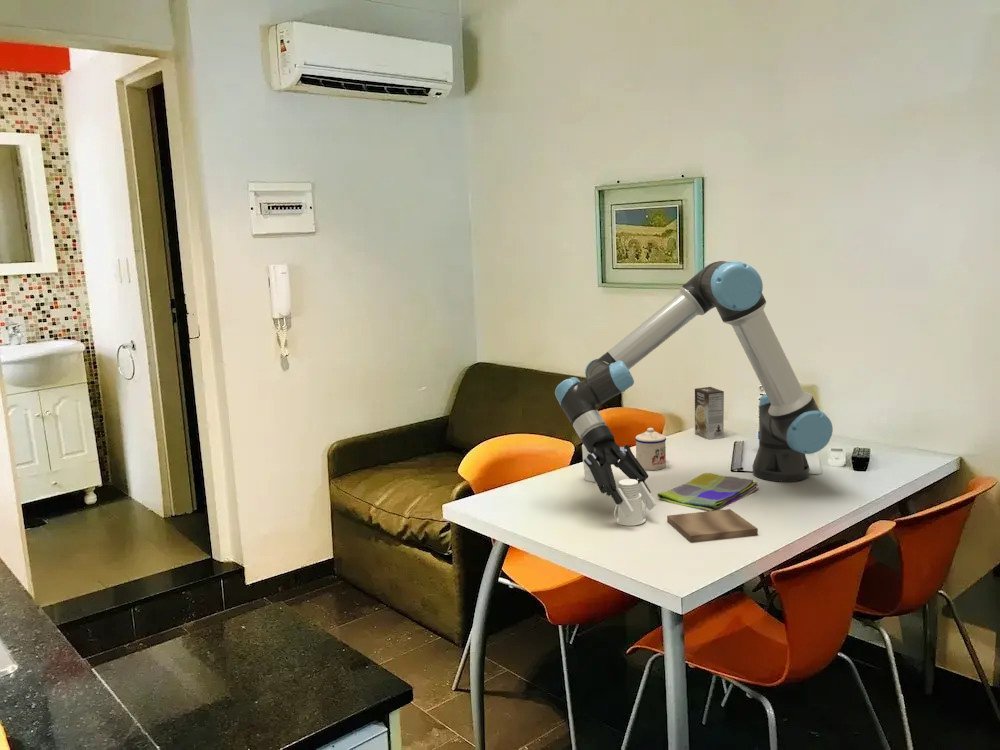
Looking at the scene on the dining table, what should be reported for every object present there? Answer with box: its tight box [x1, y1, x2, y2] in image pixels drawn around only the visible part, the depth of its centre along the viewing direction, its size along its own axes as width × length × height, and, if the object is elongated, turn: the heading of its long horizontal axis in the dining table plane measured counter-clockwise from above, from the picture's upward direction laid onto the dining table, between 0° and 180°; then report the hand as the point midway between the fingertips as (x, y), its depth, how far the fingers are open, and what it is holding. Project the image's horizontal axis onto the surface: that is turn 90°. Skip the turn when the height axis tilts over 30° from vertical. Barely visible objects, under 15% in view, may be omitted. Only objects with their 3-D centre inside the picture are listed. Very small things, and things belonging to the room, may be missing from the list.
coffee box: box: [694, 386, 725, 440], centre depth 271 cm, size 9×6×16 cm
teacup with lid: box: [634, 427, 667, 471], centre depth 239 cm, size 12×9×12 cm
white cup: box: [581, 443, 600, 483], centre depth 228 cm, size 8×8×10 cm
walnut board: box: [666, 508, 759, 543], centre depth 186 cm, size 16×14×2 cm
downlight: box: [613, 478, 647, 527], centre depth 192 cm, size 8×7×10 cm
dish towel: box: [656, 472, 759, 512], centre depth 211 cm, size 18×24×3 cm
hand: (641, 510), depth 190 cm, fingers closed on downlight, 7 cm apart
